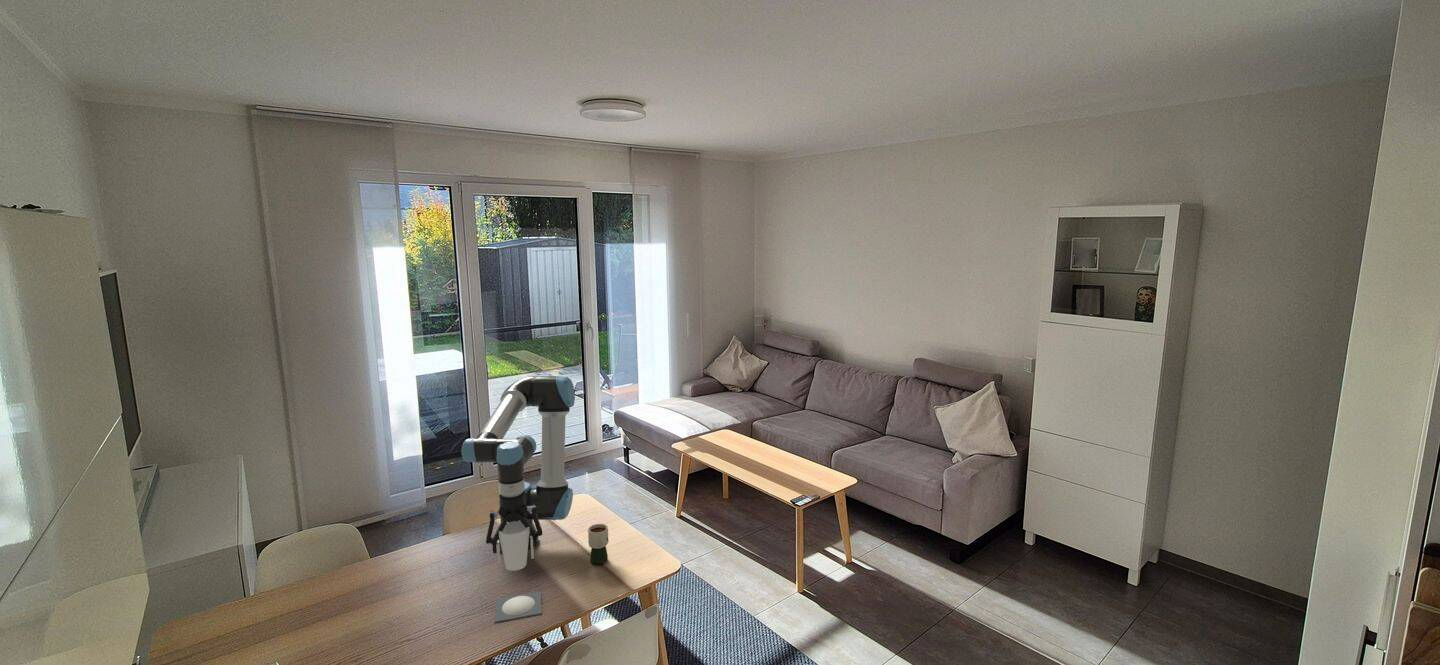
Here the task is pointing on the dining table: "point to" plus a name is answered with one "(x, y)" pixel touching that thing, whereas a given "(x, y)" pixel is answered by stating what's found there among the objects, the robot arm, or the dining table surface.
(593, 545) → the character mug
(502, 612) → the mat
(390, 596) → the dining table surface
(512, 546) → the foam cup
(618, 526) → the dining table surface
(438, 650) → the dining table surface
